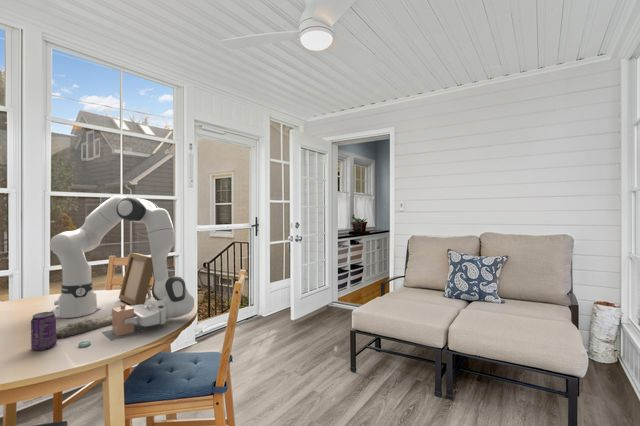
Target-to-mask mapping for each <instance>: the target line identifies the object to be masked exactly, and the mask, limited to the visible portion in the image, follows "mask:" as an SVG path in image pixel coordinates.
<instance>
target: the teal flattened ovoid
mask: <svg viewBox="0 0 640 426" xmlns="http://www.w3.org/2000/svg"><path fill="white" fill-rule="evenodd" d="M91 345H92V343H91V341H90V340H86V341H81V342H79V343H78V348H86V347H87V348H88V347H89V346H91Z"/></svg>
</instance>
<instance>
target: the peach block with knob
mask: <svg viewBox="0 0 640 426" xmlns="http://www.w3.org/2000/svg"><path fill="white" fill-rule="evenodd" d="M131 306H132V305H130V304H129V305H128V304H121V305H120V306H118V307H112V308H111V315H112V324H111V330H112V332H113V333H114V334H115V335H116V336H120V335H124V334H128V333H132V332H134V325H135V323H128V324H125V323H123V319H125V318H134V308H132V307H131Z"/></svg>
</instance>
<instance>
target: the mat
mask: <svg viewBox="0 0 640 426" xmlns="http://www.w3.org/2000/svg"><path fill="white" fill-rule="evenodd" d="M143 333H145V331H144V330H142V329H141V328H139V327H138V326H136V325H135V324H134V332H132V333H128V334H124V335H120V336H116V335H115V334H114V333H113V332H112V329H110V330H105V331H101V334H102V335H104V336H105V338H108V339H109V340H110V341H111V342H112V341H116V340H120V339H124V338H127V337H131V336H135V335H139V334H143Z"/></svg>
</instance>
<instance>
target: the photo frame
mask: <svg viewBox="0 0 640 426" xmlns="http://www.w3.org/2000/svg"><path fill="white" fill-rule="evenodd" d="M152 277H153V270H152V261H151V255H150V256H149V255H145V254H141V253H136V252H130V253H129V257H128V261H127V264H126V268H125V272H124V276H123V280H122V284H121V287H120V291H119V294H118V300H121V301H123V302H125V303H127V304H129V306H134V305H146V304H145V303H146V299H147V297H148V299H149V300H150V299H151V298H152V290H151V287H150V283H151V280H152Z"/></svg>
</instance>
